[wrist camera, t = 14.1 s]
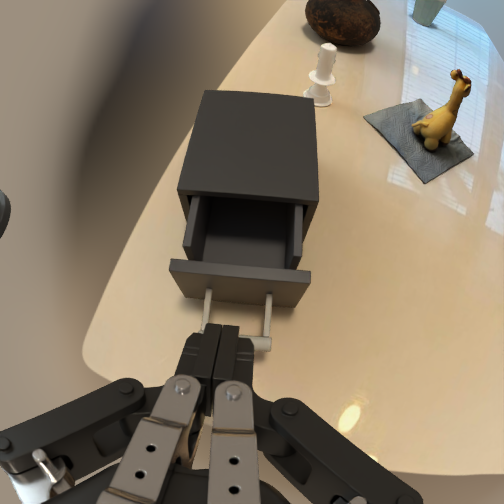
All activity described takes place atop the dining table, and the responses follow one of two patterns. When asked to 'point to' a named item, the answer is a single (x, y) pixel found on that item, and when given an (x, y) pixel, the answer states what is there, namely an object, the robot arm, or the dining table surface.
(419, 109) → the stuffed giraffe
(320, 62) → the candle
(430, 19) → the disposable coffee cup
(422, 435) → the dining table surface
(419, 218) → the dining table surface
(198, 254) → the drawer
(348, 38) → the glass bottle
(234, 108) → the dark gray cabinet
